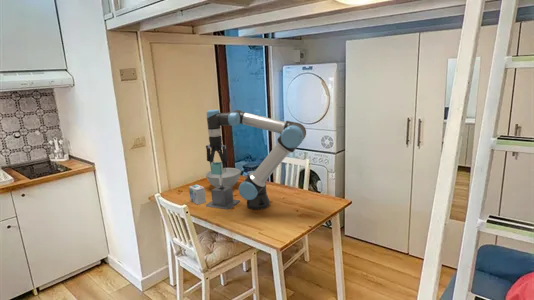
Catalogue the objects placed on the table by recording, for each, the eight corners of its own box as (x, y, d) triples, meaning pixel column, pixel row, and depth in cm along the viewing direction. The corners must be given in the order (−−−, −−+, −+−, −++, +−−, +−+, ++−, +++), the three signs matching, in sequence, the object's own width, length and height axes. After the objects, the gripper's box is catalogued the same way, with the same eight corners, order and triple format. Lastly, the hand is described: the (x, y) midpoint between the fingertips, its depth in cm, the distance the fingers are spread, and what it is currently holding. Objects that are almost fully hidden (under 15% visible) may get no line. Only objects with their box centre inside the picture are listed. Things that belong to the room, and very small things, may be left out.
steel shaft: (224, 194, 222) (222, 171, 219) (222, 195, 220) (220, 172, 216) (221, 193, 223) (219, 170, 220) (219, 195, 221) (217, 171, 218)
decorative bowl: (203, 186, 264) (201, 171, 261) (235, 180, 274) (233, 165, 272) (212, 196, 240) (211, 180, 237) (247, 189, 250) (245, 173, 248)
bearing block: (240, 201, 225) (238, 186, 223) (229, 209, 213) (227, 193, 211) (217, 199, 233) (216, 183, 231) (206, 206, 221) (204, 190, 218)
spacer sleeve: (225, 171, 206) (225, 162, 204) (220, 174, 200) (219, 165, 199) (217, 171, 208) (216, 162, 207) (211, 174, 203) (210, 164, 201)
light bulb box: (190, 201, 233) (188, 186, 230) (198, 198, 237) (197, 184, 234) (197, 204, 225) (195, 189, 222) (206, 202, 229) (204, 187, 226)
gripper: (198, 136, 200) (202, 173, 205) (225, 137, 192) (229, 175, 197) (205, 134, 207) (208, 170, 212) (232, 134, 198) (235, 171, 203)
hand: (218, 172), depth 204 cm, fingers closed on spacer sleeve, 6 cm apart
